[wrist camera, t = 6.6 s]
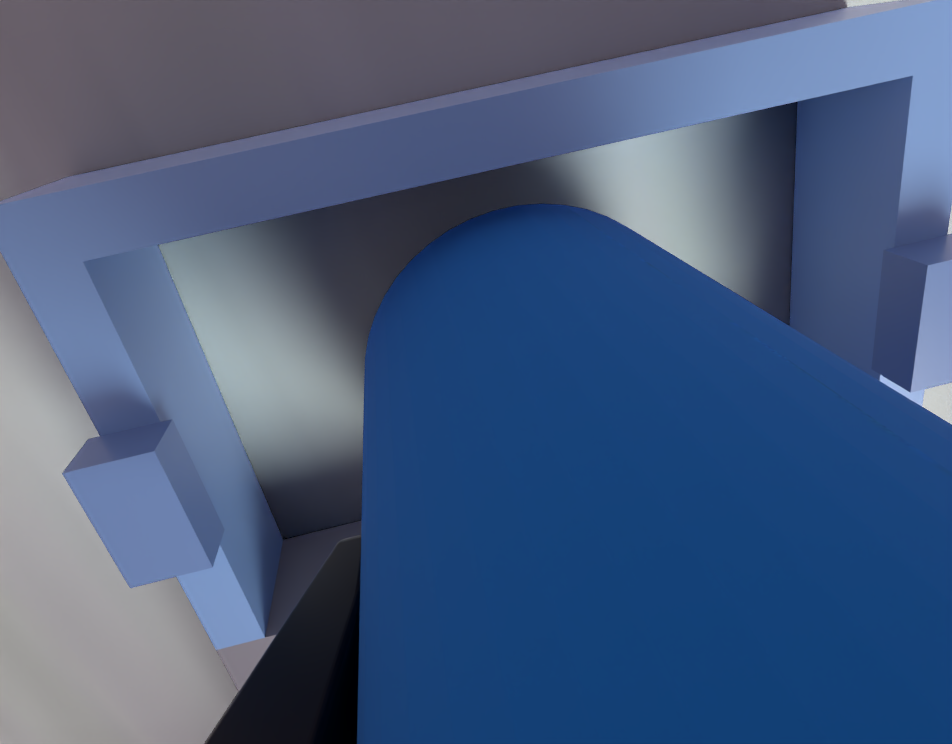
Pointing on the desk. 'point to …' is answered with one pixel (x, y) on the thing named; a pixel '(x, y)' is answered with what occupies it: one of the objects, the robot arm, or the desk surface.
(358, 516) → the desk surface
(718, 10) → the desk surface
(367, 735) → the beverage can
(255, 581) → the slot holder
